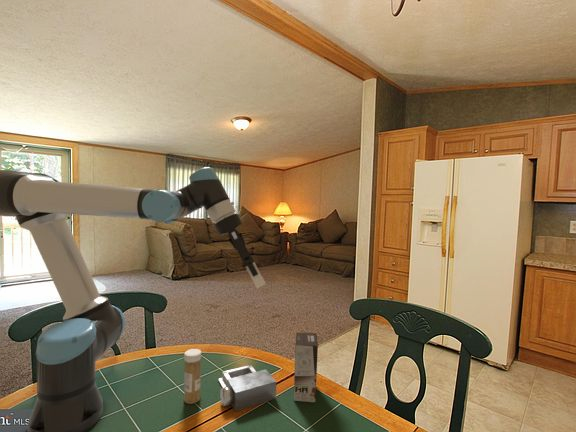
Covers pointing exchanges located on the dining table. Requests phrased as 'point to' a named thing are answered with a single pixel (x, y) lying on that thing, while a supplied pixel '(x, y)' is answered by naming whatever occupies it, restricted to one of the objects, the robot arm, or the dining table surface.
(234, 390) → the grey open drawer box
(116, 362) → the dining table surface
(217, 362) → the dining table surface
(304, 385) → the coffee box
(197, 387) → the sprinkles bottle
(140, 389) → the dining table surface
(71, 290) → the robot arm
